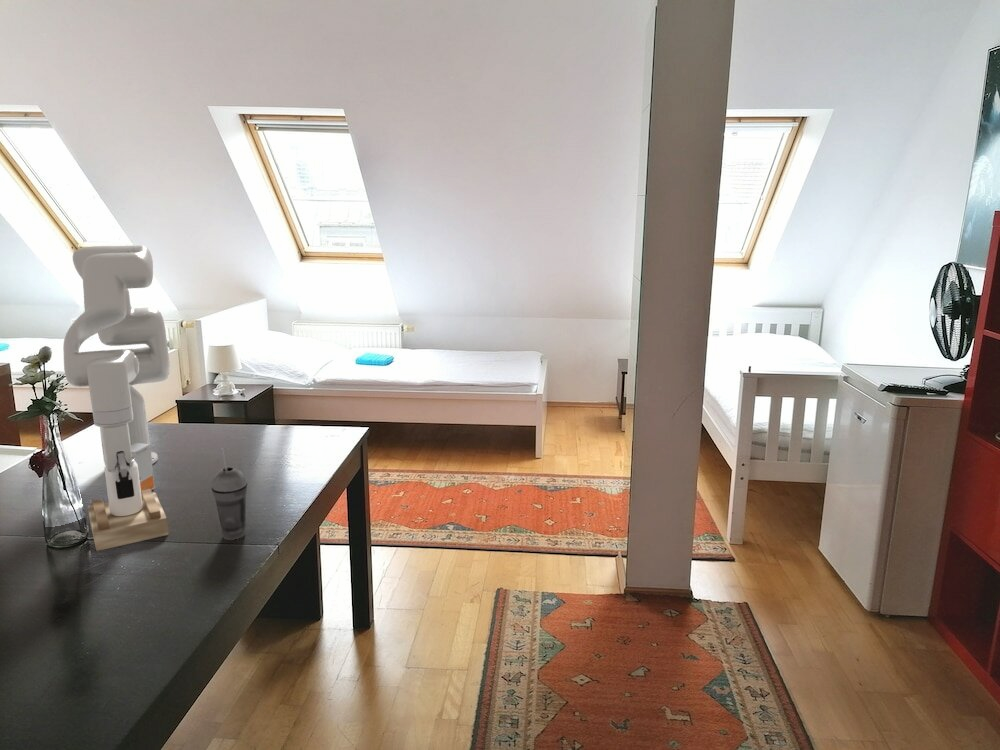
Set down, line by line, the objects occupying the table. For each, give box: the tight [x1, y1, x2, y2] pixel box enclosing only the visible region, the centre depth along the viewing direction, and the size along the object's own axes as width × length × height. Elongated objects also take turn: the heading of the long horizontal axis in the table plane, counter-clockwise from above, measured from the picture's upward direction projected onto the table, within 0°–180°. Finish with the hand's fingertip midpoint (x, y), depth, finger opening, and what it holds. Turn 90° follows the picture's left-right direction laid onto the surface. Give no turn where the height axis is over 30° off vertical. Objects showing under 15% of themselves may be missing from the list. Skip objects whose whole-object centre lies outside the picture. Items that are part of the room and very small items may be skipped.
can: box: [104, 457, 142, 517], centre depth 161 cm, size 6×6×12 cm
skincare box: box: [131, 443, 156, 491], centre depth 180 cm, size 6×4×12 cm
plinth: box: [87, 489, 169, 552], centre depth 162 cm, size 16×14×6 cm
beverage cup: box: [211, 447, 248, 541], centre depth 157 cm, size 7×7×20 cm
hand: (123, 489), depth 160 cm, fingers open, 9 cm apart
